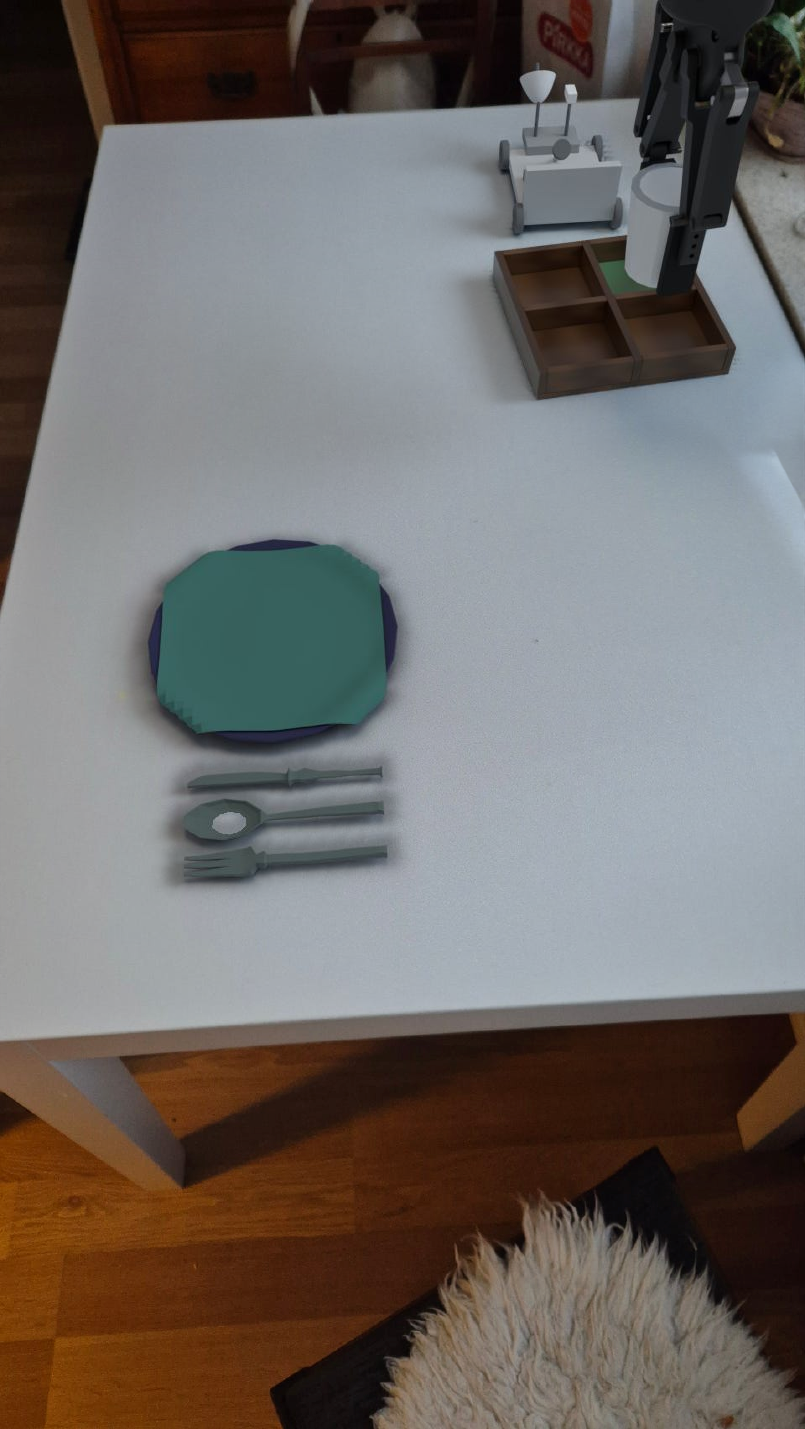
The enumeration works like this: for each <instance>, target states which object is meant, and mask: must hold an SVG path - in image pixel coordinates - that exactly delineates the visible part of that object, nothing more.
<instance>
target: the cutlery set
mask: <svg viewBox="0 0 805 1429" xmlns="http://www.w3.org/2000/svg"><path fill="white" fill-rule="evenodd" d="M398 629H399V625H398V622H397V618H396V614H395V611H394V607H393V603H392V600H391V596H390V594H389V593H388V592H387V591H386V589H385V588H384V587H383V586H382V584H381V582H380V574H379V572H378V571H377V570H375V569H373V568H372V567H370V565H369V564H366V563H365V562H362V560H361V558H358V557H356V556H354V555H352V553H351V552H349V551H347V550H344V547H341V546H339V545H336V544H328V543H327V544H318V543H316V542H313V541H310V540H293V539H292V540H291V539H275V538H273V539H267V540H262V541H255V542H251V543H244V544H239V545H235V546H233V547H230V548H229V549H226V550H225V549H224V550H211V551H208V552H205V554H202V555H201V556H200V557H198V558H197V559H195V561H193V562H192V563H191V564H189V565H188V566H187V567H186V568H184V569H183V570H182V571H180V572H179V573H178V574H177V575H176V576H174V577H172V579H171V580H169V582H167V583H166V584H165V586H164V588H163V593H162V602H161V603H160V605H159V606H158V608H157V609H156V611H155V615H154V618H153V621H152V626H151V629H150V633H149V636H148V639H147V640H148V641H147V646H148V656H149V664H150V673H151V676H152V677H153V679H154V681H155V682H156V695H157V696H156V697H157V699H158V700H159V703H160V704H161V706H163V707H165V709H168V710H169V712H170V713H172V714H174V715H176V716H177V717H178V719H179V720H180V721H182V722H184V723H186V725H187V727H188V728H189V729H191V730H193V731H194V733H195V734H204V733H213V734H215V735H218V736H220V737H223V738H225V739H228V740H231V741H238V742H252V743H268V744H276V743H281V742H286V741H291V740H296V739H301V738H306V737H311V736H315V735H317V734H319V733H322V732H323V731H325V730H327V729H329V728H331V727H332V726H335V725H336V724H343V725H359V724H361V723H362V721H363V720H364V719H365V718H366V717H367V716H368V714H370V713H371V712H372V711H373V710H374V709H375V708H377V707H378V706H379V705H380V704H381V703H382V702H383V700H384V699H385V695H386V692H387V673H389V672H388V671H389V670H390V668H391V666H392V664H393V662H394V660H395V655H396V654H395V653H396V646H397V637H398ZM354 776H355V777H357V776H359V777H360V776H363V777H364V776H380V778H382V779H383V765H381V766H379V767H373V768H363V769H353V770H346V769H345V770H343V769H342V770H340V769H339V770H338V769H333V770H332V769H331V770H316V769H313V768H309V767H303V768H301V769H298V770H292V769H291V768H290V767H288V768H287V771H286V772H285V773H284V772H269V771H248V772H247V771H246V772H231V773H230V772H227V773H218V774H216V773H215V774H206V775H201V776H198V777H195V778H194V779H192V780H190V781H188V782H187V783H186V787H187V789H195V788H196V789H199V788H213V787H226V786H228V787H229V786H243V785H257V784H259V785H260V784H274V783H287V785H288V786H289V788H291V787H292V785H293V784H296V783H298V782H299V783H302V784H303V785H306V784H309V783H313V782H316V781H317V780H321V779H334V778H335V779H336V778H343V777H354ZM227 812H234V813H240V814H241V815H242V816H243V817H245V818H246V826H245V827H244V828H243V829H242V830H241V831H239V832H237V833H233V834H230V835H229V834H222V833H219V832H218V831H216V830H215V829H213V828H212V825H213V820H214V819H215V818H216V817H218V816H219V815H220V814H224V813H227ZM370 815H371V816H372V815H373V816H375V815H384V816H385V806H384V800H380V801H368V802H357V803H350V804H339V805H330V806H329V805H328V806H319V807H313V808H312V807H311V808H306V809H299V810H298V809H297V810H291V811H283V812H276V813H270V814H269V813H268V814H267V813H266V812H265V811H264V810H263V809H261V808H260V807H258V806H256V805H254V804H253V803H251V802H249V801H248V800H243V799H233V798H225V797H224V798H221V799H220V798H219V799H217V800H212V801H207V802H203V803H201V804H199V805H197V806H196V807H194V808H193V809H192V810H190V811H189V812H187V813H186V814H184V818H183V829H185V830H186V831H188V832H190V833H191V834H192V835H194V836H196V837H198V838H200V839H208V840H218V841H231V840H233V839H239V838H241V837H244V836H247V835H248V834H250V833H251V832H253V830H255V829H256V828H257V827H258V826H260V825H261V824H264V823H266V822H272V821H273V822H274V821H283V820H297V819H309V818H311V819H312V818H320V817H321V818H324V817H344V816H346V817H347V816H370ZM367 859H369V860H370V859H388V845H387V844H384V845H373V846H372V845H371V846H360V847H359V846H358V847H350V848H342V849H331V850H321V851H308V852H282V853H267V852H266V851H265V850H262V851H260V852H258V853H256V852H255V850H254V848H253V847H252V845H251V846H247V847H243V848H236V849H231V850H225V851H219V852H213V853H208V854H207V853H206V854H199V855H189V856H184V857H183V860H184V861H187V862H188V861H189V862H198V863H187V864H183V869H187V870H188V869H191V870H197V871H185V872H183V874H182V875H183V877H189V878H190V877H191V878H192V877H193V878H203V877H204V878H205V877H234V878H243V877H244V878H245V877H253V876H254V874H256V872H257V871H258V870H262V869H265V870H266V869H267V868H268V866H272V865H273V866H275V865H309V864H324V863H333V862H346V861H353V860H367ZM204 861H205V862H204ZM258 868H260V869H258ZM257 869H258V870H257Z"/></svg>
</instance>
